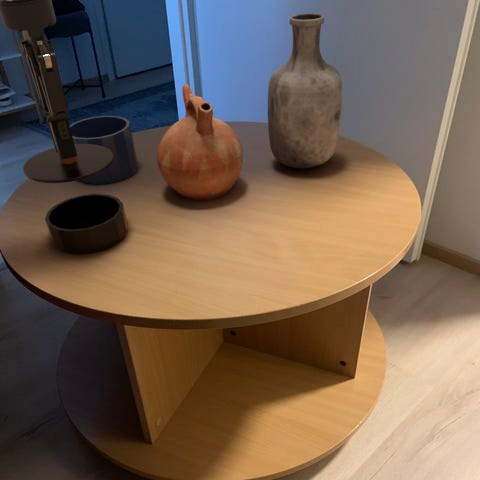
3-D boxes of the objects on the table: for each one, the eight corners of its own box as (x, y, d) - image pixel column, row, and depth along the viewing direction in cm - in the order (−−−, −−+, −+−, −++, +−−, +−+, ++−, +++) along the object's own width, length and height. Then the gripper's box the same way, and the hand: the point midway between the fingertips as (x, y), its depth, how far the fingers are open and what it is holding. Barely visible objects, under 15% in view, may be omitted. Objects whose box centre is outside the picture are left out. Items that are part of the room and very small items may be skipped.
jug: (155, 179, 116) (139, 87, 103) (230, 165, 120) (223, 74, 107) (172, 215, 103) (155, 115, 90) (255, 198, 106) (251, 99, 93)
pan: (63, 263, 91) (55, 239, 88) (46, 229, 101) (38, 206, 98) (138, 239, 96) (133, 216, 93) (114, 209, 106) (109, 187, 103)
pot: (86, 189, 114) (74, 144, 107) (70, 167, 124) (58, 124, 117) (146, 173, 119) (138, 129, 112) (126, 153, 128) (117, 111, 122)
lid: (35, 195, 82) (16, 139, 76) (17, 162, 92) (-1, 111, 86) (126, 171, 87) (115, 118, 81) (99, 143, 98) (88, 94, 92)
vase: (273, 181, 112) (272, 28, 92) (264, 153, 124) (261, 12, 105) (345, 174, 112) (358, 21, 93) (328, 147, 125) (337, 6, 105)
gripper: (62, -1, 69) (100, 164, 84) (37, -13, 80) (75, 135, 95) (5, 6, 66) (55, 175, 82) (-12, -8, 77) (35, 144, 92)
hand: (66, 153), depth 88 cm, fingers closed on lid, 3 cm apart
